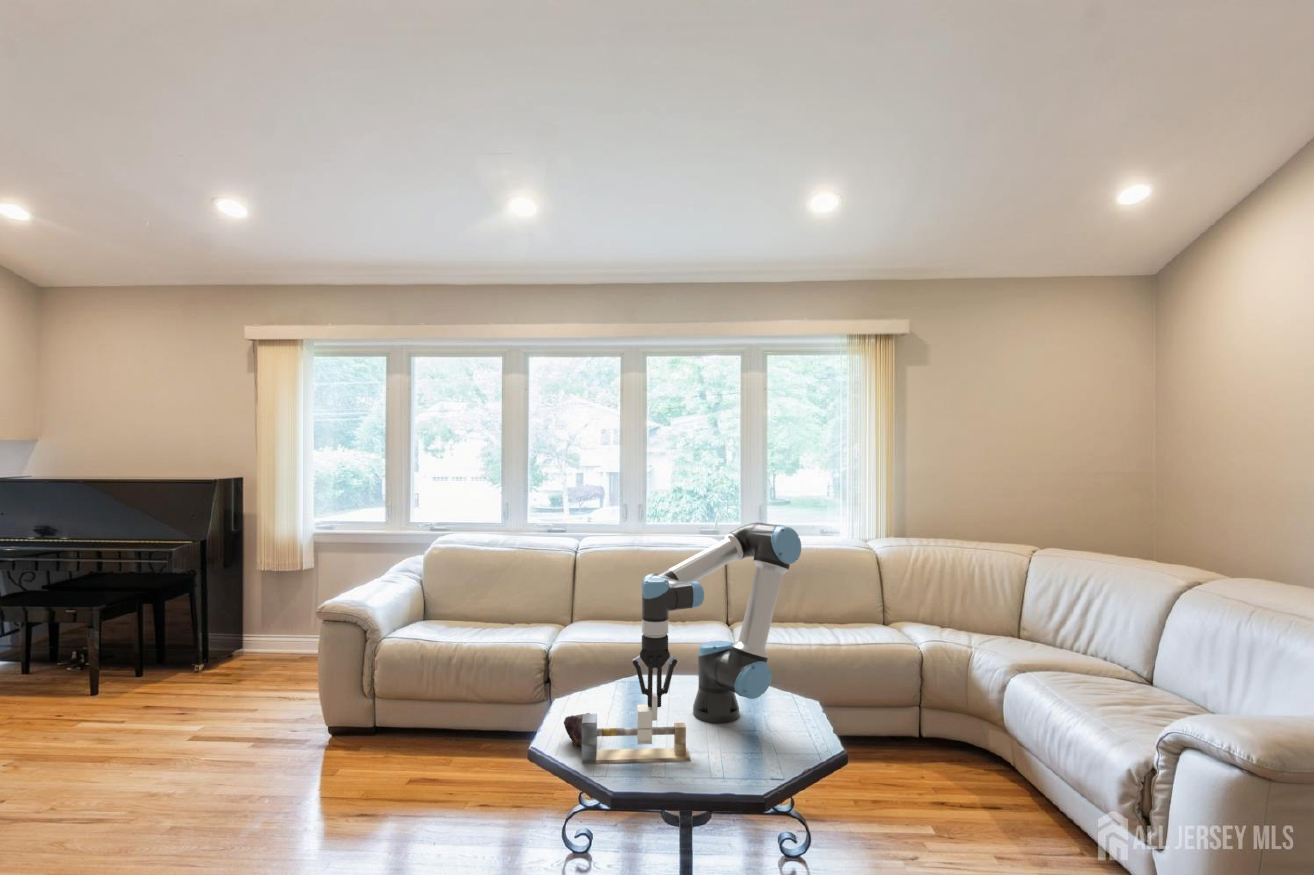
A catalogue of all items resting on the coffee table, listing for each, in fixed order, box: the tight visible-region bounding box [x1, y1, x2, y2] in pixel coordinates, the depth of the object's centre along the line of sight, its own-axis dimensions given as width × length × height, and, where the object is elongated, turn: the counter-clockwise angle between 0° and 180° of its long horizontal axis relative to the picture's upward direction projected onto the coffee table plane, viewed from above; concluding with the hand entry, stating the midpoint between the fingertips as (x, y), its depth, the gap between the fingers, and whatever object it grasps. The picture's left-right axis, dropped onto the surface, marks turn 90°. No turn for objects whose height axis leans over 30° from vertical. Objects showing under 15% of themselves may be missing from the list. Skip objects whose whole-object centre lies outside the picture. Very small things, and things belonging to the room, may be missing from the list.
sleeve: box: [636, 703, 653, 746], centre depth 175 cm, size 4×5×9 cm
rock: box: [563, 712, 591, 747], centre depth 184 cm, size 12×9×10 cm
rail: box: [581, 713, 691, 764], centre depth 175 cm, size 30×6×11 cm, turn 94°
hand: (654, 718), depth 175 cm, fingers closed
